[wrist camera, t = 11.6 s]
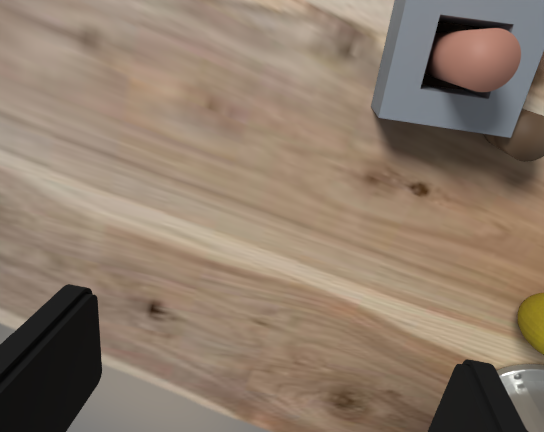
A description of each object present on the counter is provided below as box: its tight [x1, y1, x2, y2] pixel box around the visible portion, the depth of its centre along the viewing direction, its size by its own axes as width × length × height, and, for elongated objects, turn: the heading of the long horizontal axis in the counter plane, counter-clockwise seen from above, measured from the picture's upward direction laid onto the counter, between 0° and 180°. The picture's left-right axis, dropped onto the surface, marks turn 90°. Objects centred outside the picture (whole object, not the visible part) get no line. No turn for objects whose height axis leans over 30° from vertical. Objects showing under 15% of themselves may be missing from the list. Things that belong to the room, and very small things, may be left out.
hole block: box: [371, 0, 544, 138], centre depth 31 cm, size 10×10×6 cm
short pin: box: [485, 109, 544, 161], centre depth 33 cm, size 4×4×5 cm
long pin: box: [425, 28, 521, 92], centre depth 29 cm, size 4×4×11 cm
